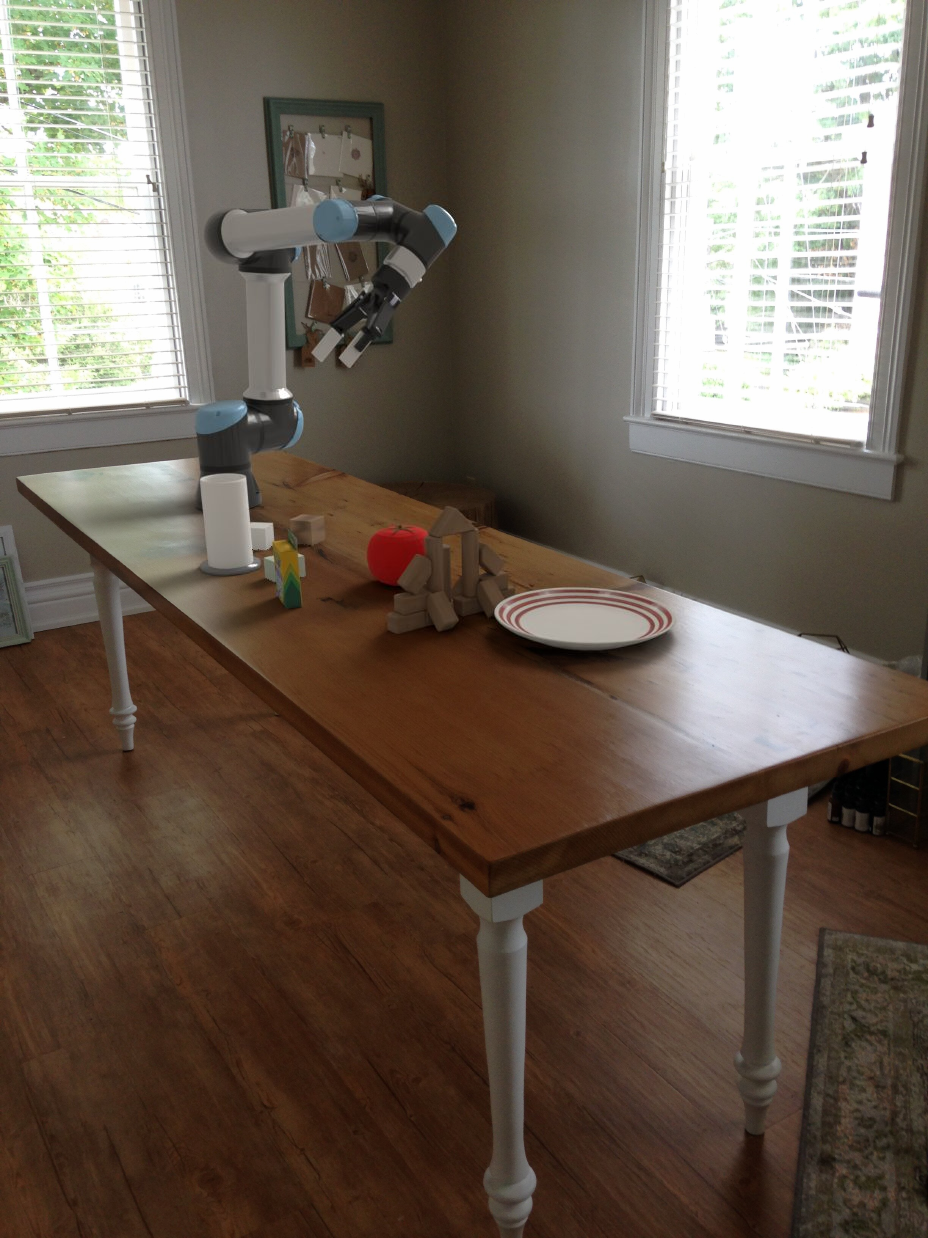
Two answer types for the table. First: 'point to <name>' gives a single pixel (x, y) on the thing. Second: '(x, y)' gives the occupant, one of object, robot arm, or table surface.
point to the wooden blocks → (449, 580)
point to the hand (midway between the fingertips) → (329, 360)
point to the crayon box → (287, 572)
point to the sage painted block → (271, 567)
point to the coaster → (234, 571)
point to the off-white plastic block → (261, 535)
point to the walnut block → (308, 529)
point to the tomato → (394, 551)
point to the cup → (226, 520)
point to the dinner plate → (584, 617)
